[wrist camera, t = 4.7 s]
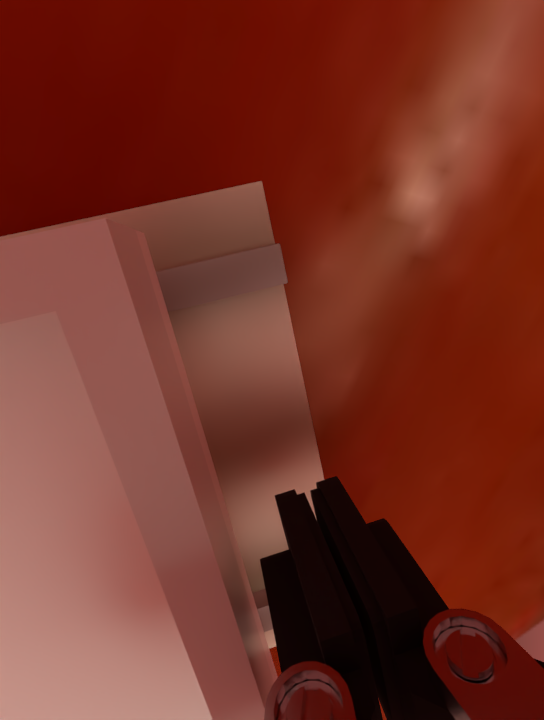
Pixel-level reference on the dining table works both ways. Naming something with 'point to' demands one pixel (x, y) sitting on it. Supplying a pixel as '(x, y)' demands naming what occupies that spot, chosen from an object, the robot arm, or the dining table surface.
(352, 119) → the dining table surface
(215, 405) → the rail board
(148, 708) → the pink rimmed tray
